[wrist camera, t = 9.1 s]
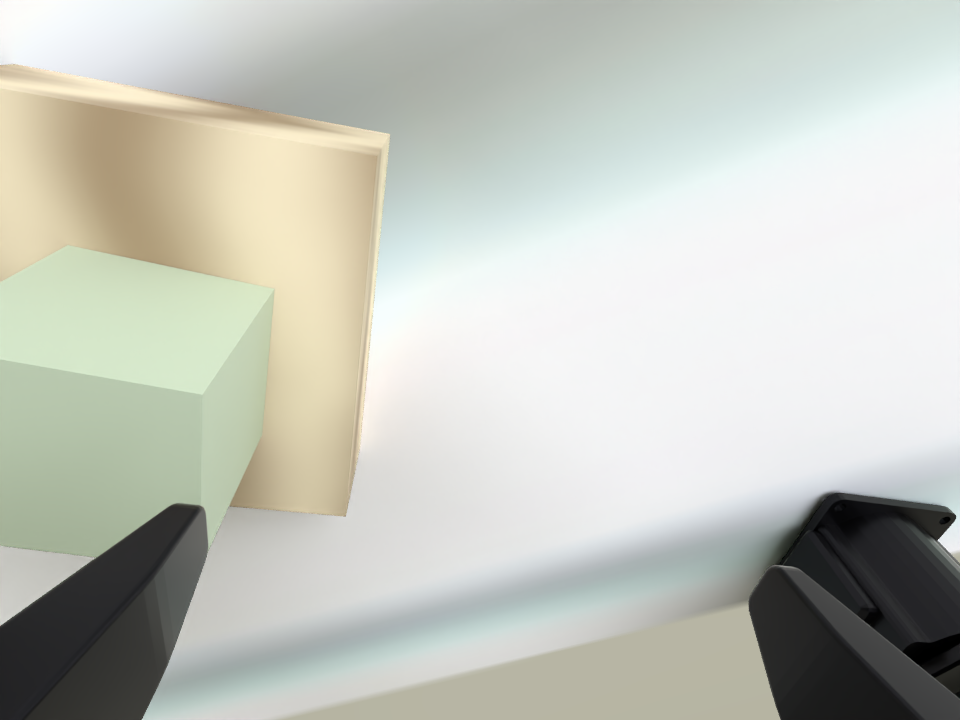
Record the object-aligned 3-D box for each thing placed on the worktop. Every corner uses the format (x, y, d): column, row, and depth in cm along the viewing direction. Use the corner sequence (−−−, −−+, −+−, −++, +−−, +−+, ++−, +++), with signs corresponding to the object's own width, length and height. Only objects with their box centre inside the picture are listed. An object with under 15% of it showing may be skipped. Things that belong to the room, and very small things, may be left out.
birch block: (391, 131, 16) (376, 155, 13) (360, 442, 22) (345, 516, 19) (26, 63, 15) (-98, 70, 12) (96, 414, 21) (27, 488, 17)
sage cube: (274, 288, 15) (202, 394, 10) (262, 434, 17) (199, 569, 13) (67, 244, 14) (-107, 340, 9) (85, 404, 16) (-46, 540, 12)
